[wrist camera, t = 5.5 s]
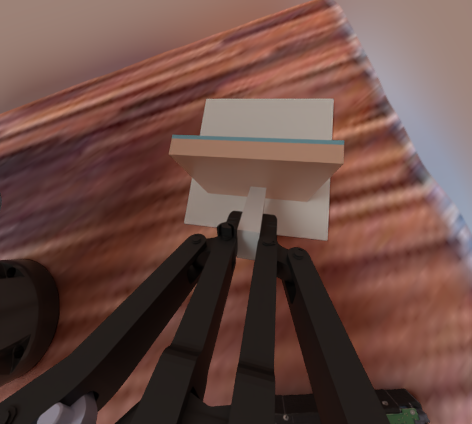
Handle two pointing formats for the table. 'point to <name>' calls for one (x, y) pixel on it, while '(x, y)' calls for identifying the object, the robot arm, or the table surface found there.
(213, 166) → the tile
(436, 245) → the table surface
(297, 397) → the disk drive
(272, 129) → the mat
